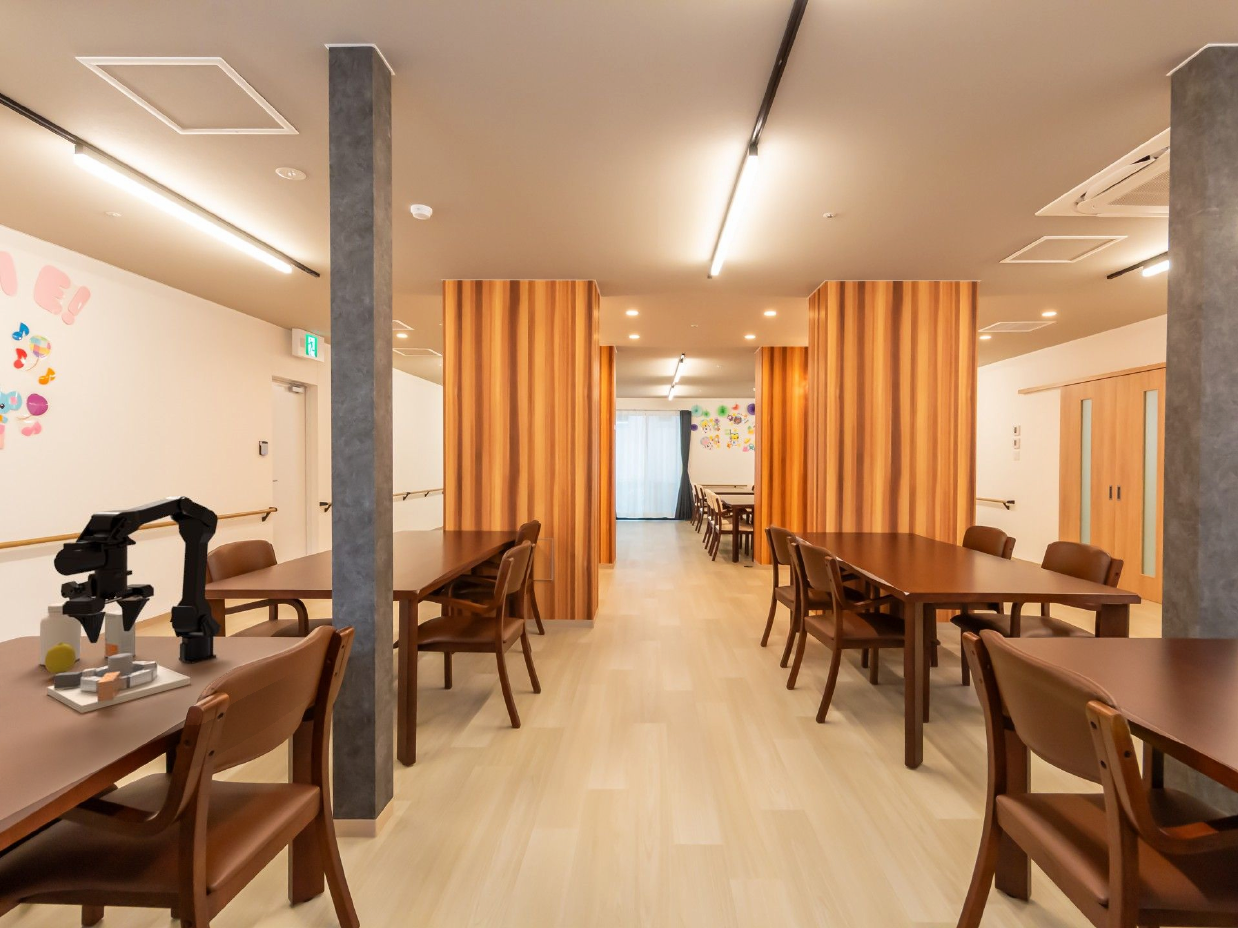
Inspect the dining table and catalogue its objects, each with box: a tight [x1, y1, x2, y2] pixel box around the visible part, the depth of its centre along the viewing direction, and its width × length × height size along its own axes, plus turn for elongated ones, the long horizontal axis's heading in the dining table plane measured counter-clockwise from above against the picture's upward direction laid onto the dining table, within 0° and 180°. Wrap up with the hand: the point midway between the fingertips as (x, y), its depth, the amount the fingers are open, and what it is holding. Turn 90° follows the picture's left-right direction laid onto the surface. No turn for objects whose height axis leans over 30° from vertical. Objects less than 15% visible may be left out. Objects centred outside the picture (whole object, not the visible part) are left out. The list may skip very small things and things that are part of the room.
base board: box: [46, 653, 191, 714], centre depth 140 cm, size 20×20×8 cm
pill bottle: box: [38, 601, 82, 666], centre depth 159 cm, size 8×8×15 cm
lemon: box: [44, 643, 76, 675], centre depth 148 cm, size 6×6×8 cm
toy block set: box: [81, 660, 158, 702], centre depth 137 cm, size 20×13×4 cm, turn 29°
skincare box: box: [104, 609, 136, 658], centre depth 164 cm, size 6×4×12 cm
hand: (110, 636), depth 137 cm, fingers open, 9 cm apart
